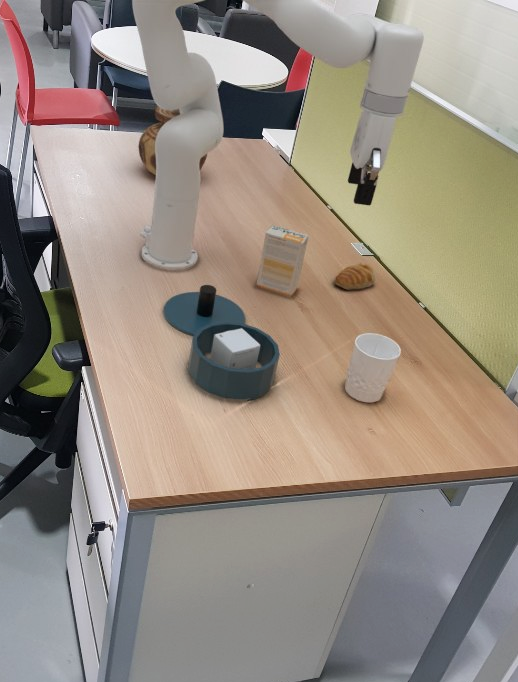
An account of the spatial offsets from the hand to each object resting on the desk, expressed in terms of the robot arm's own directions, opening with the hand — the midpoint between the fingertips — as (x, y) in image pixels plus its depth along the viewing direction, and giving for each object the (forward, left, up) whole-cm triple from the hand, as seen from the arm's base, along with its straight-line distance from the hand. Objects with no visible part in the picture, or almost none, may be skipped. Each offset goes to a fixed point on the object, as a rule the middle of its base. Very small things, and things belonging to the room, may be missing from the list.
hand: (358, 193), depth 140 cm
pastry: (-4, +16, -27) cm, 31 cm away
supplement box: (-13, -1, -27) cm, 30 cm away
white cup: (+20, -17, -27) cm, 38 cm away
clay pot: (-71, +24, -27) cm, 79 cm away
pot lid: (-14, -23, -26) cm, 37 cm away
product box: (+2, -33, -26) cm, 42 cm away
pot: (+2, -33, -26) cm, 42 cm away
